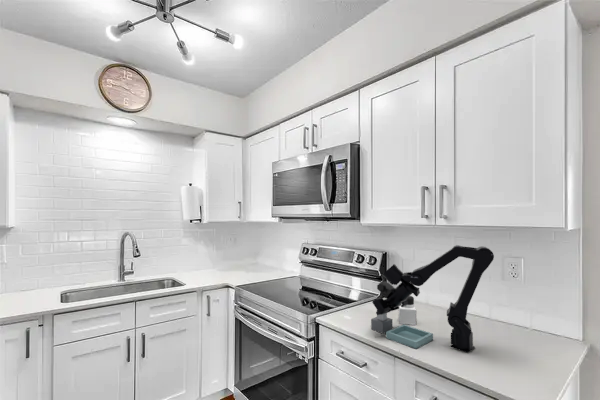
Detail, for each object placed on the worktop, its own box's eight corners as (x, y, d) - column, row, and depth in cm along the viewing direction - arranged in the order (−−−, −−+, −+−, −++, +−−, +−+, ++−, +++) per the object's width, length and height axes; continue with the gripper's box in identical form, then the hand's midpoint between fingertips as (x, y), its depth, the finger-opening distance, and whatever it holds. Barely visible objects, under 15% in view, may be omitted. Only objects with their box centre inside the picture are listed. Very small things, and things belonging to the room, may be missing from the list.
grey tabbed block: (392, 329, 131) (392, 308, 132) (383, 333, 127) (382, 311, 127) (380, 325, 136) (380, 305, 136) (371, 329, 131) (371, 308, 132)
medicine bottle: (416, 325, 137) (416, 298, 137) (400, 324, 138) (399, 297, 139) (413, 320, 144) (413, 294, 144) (398, 318, 145) (398, 293, 146)
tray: (433, 340, 121) (433, 333, 121) (416, 349, 112) (416, 342, 112) (403, 330, 131) (403, 324, 131) (386, 338, 122) (386, 331, 122)
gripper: (401, 273, 135) (380, 293, 143) (376, 279, 123) (355, 300, 131) (418, 295, 129) (395, 315, 137) (393, 303, 117) (370, 324, 125)
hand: (379, 313), depth 133 cm, fingers closed on grey tabbed block, 3 cm apart
